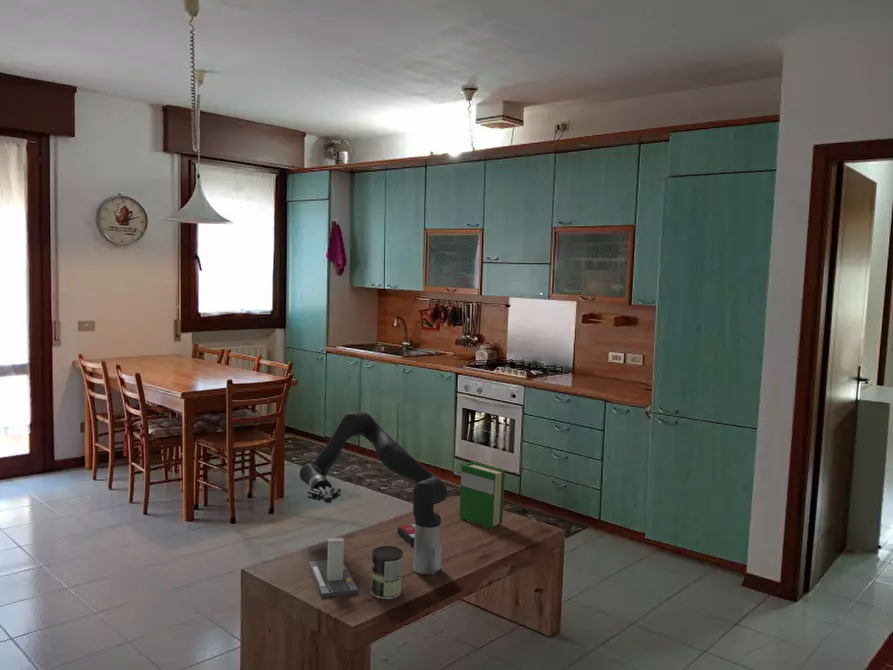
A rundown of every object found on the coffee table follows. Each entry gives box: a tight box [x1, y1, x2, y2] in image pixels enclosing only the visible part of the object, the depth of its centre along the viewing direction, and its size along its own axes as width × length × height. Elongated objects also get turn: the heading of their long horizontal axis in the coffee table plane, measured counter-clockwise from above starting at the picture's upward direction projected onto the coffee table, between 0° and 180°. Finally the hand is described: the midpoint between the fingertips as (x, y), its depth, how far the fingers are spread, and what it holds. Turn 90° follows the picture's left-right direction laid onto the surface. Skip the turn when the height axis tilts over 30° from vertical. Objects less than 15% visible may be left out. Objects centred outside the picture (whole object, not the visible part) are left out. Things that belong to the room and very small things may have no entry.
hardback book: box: [459, 461, 506, 529], centre depth 313 cm, size 18×7×24 cm, turn 49°
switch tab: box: [327, 537, 345, 581], centre depth 247 cm, size 2×5×14 cm, turn 110°
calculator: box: [397, 523, 415, 548], centre depth 293 cm, size 11×4×15 cm
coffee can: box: [370, 545, 404, 600], centre depth 243 cm, size 10×10×14 cm
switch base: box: [308, 559, 359, 598], centre depth 252 cm, size 26×12×2 cm, turn 20°
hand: (329, 500), depth 262 cm, fingers closed
